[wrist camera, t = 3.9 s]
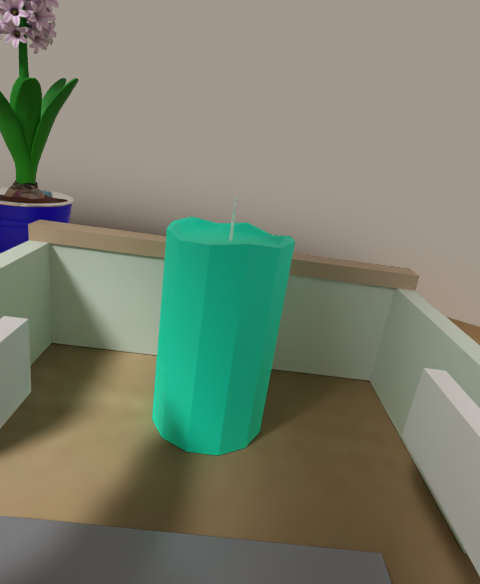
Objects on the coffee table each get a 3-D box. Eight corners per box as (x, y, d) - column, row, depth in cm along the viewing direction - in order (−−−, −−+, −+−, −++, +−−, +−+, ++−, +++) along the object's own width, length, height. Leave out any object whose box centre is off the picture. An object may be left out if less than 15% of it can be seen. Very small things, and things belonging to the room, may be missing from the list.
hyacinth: (77, 254, 47) (78, -71, 37) (77, 286, 38) (79, -131, 28) (-12, 251, 44) (-38, -106, 34) (-35, 286, 35) (-79, -187, 25)
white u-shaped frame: (-126, 495, 16) (-167, 300, 13) (43, 331, 29) (39, 219, 27) (492, 556, 17) (571, 389, 14) (379, 372, 30) (409, 268, 28)
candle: (275, 451, 21) (323, 216, 17) (155, 460, 19) (177, 202, 15) (245, 384, 26) (276, 194, 22) (149, 387, 25) (164, 182, 21)
